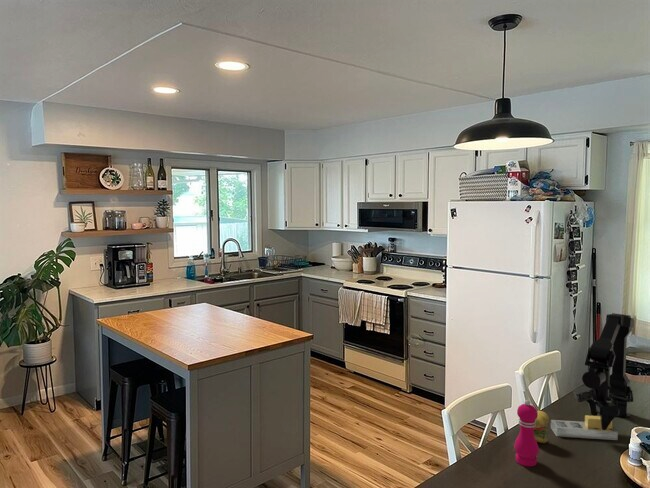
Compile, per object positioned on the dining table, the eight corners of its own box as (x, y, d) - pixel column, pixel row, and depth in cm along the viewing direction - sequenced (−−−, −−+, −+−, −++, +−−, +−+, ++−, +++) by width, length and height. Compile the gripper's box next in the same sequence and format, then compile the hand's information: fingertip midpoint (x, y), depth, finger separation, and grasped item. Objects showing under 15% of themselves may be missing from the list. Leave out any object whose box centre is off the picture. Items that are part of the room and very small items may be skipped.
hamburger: (552, 446, 167) (553, 411, 166) (532, 447, 166) (533, 412, 165) (540, 436, 174) (541, 403, 174) (521, 437, 174) (522, 403, 173)
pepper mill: (540, 468, 152) (542, 405, 151) (516, 466, 154) (517, 403, 152) (535, 457, 159) (537, 396, 158) (512, 455, 161) (513, 395, 160)
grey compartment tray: (556, 436, 174) (556, 427, 174) (550, 427, 181) (550, 419, 181) (617, 440, 171) (617, 431, 171) (609, 431, 178) (609, 423, 178)
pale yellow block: (587, 435, 175) (588, 418, 174) (584, 431, 178) (585, 415, 177) (611, 436, 173) (612, 420, 173) (608, 433, 176) (608, 416, 176)
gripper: (567, 371, 185) (565, 412, 186) (585, 389, 166) (583, 434, 167) (599, 373, 183) (597, 414, 184) (621, 391, 165) (619, 436, 166)
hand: (598, 424), depth 175 cm, fingers open, 9 cm apart
